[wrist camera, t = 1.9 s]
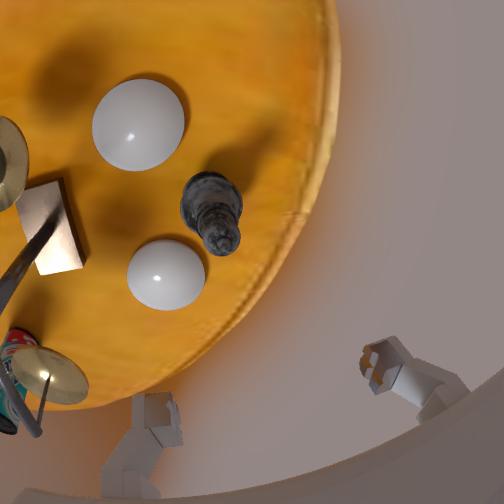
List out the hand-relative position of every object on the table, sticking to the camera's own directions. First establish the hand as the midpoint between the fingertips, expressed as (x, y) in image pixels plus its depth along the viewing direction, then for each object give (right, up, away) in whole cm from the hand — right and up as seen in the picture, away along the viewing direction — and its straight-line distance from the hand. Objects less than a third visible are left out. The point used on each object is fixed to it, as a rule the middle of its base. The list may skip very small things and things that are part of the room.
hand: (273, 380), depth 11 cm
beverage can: (-35, -8, +22) cm, 42 cm away
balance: (-23, +8, +16) cm, 29 cm away
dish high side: (-11, +2, +23) cm, 25 cm away
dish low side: (-12, +17, +14) cm, 25 cm away
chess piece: (-5, +11, +20) cm, 23 cm away
